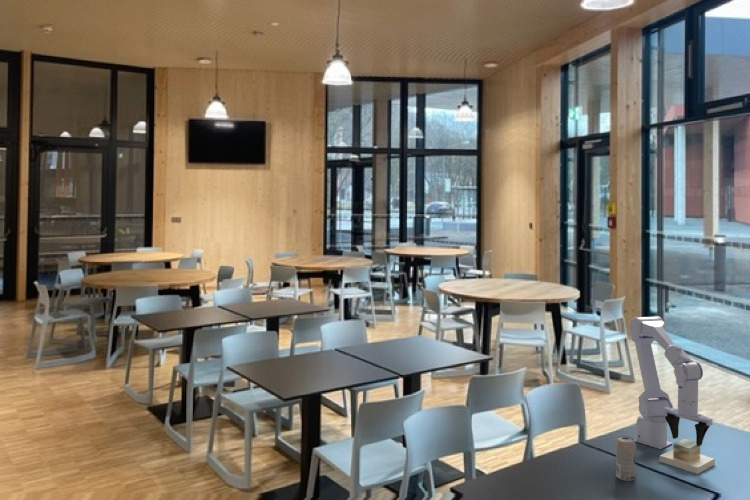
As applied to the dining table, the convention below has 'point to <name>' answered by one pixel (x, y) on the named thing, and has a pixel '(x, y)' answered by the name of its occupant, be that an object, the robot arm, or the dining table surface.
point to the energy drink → (625, 458)
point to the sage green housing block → (686, 450)
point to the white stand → (693, 466)
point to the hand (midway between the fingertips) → (687, 441)
